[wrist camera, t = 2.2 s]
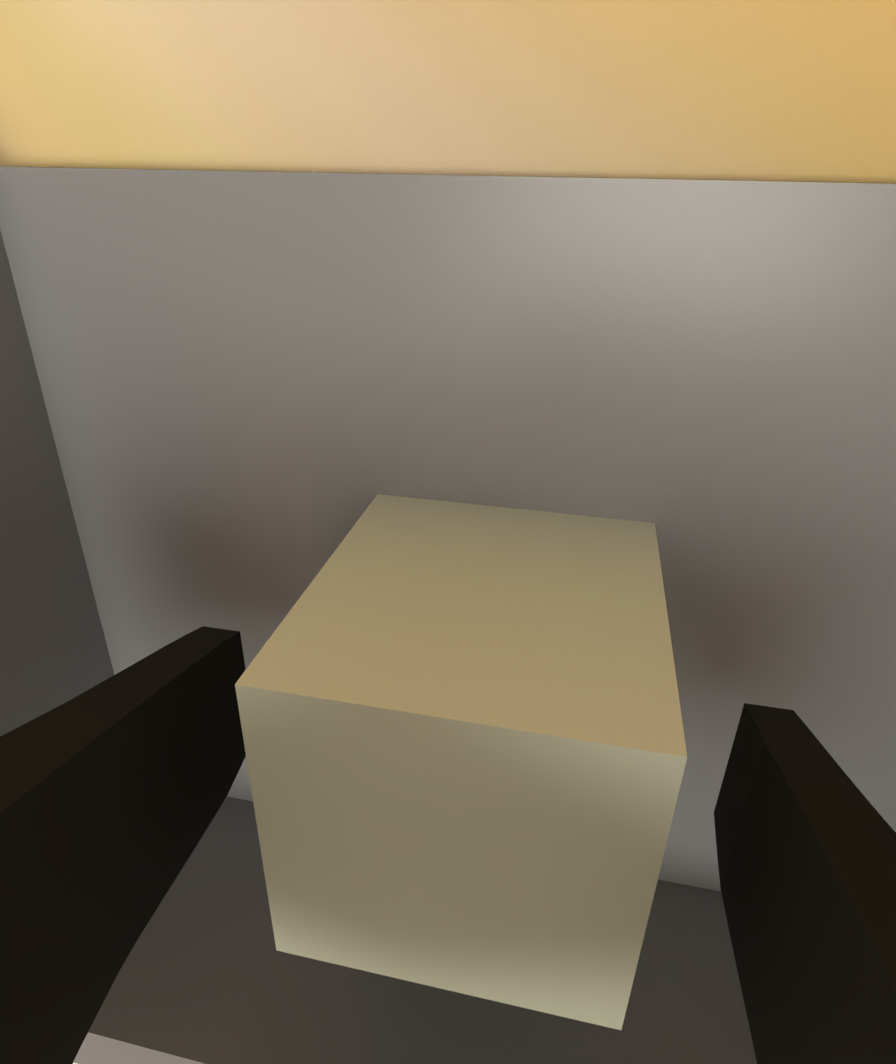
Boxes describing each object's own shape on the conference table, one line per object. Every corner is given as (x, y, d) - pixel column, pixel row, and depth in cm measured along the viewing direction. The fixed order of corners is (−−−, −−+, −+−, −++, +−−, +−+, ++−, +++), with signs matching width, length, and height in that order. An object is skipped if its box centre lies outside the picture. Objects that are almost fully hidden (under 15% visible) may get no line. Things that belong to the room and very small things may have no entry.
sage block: (655, 523, 11) (687, 756, 6) (616, 739, 13) (621, 1030, 8) (377, 494, 11) (235, 684, 7) (383, 702, 13) (276, 950, 9)
